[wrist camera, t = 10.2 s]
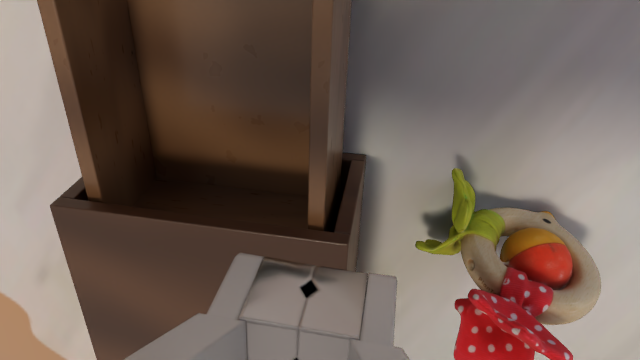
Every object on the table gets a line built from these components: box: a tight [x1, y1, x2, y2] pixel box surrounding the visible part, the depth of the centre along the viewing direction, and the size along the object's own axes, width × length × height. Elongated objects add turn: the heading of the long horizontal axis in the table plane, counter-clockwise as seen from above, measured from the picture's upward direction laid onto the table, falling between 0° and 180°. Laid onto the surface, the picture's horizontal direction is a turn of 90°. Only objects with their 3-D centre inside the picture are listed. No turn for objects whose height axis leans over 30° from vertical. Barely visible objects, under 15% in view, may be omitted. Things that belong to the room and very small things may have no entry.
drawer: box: [37, 0, 352, 232], centre depth 22 cm, size 23×13×7 cm, turn 178°
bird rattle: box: [415, 168, 601, 360], centre depth 26 cm, size 6×11×9 cm
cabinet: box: [50, 153, 366, 360], centre depth 32 cm, size 20×15×9 cm
